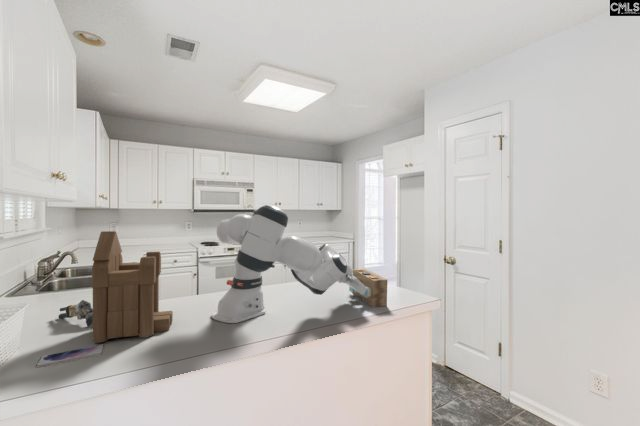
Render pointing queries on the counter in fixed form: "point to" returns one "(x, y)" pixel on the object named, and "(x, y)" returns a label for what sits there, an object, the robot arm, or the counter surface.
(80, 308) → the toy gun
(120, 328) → the castle structure
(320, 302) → the counter surface
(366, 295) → the plunger near
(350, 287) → the plunger middle
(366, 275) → the console
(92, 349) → the smartphone
